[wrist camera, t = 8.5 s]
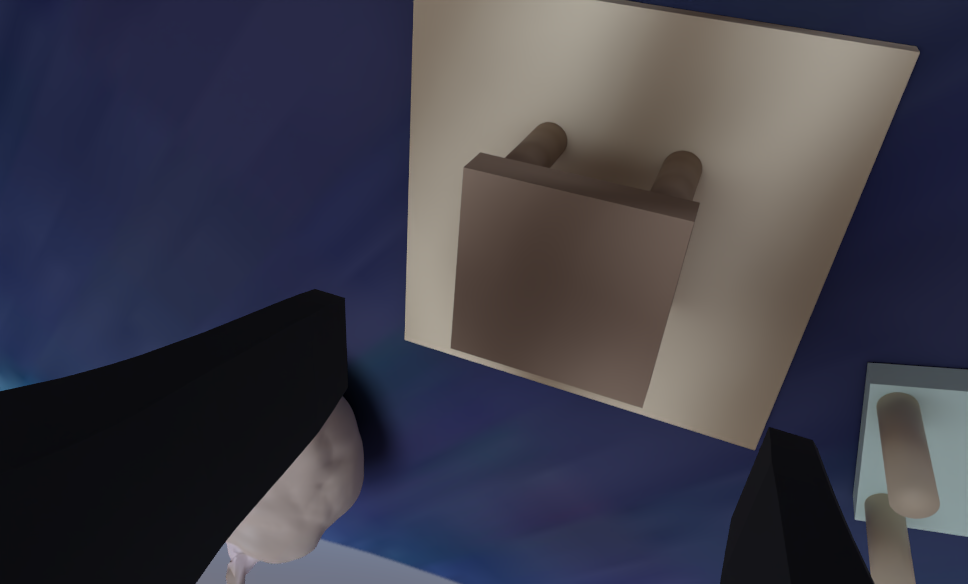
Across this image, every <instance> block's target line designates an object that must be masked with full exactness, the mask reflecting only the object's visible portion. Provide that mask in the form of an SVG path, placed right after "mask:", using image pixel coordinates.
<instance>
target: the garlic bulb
mask: <svg viewBox="0 0 968 584" xmlns="http://www.w3.org/2000/svg"><path fill="white" fill-rule="evenodd" d="M363 479H364V452H363V444H362V439H361V436H360V433H359V430H358V426H357V422H356V419H355V415H354V413H353V411H352V408H351V407H350V405H349V403H348V402H347V401H346V399H345V398H344V397H343V396H342V398H341V399H340V401H339V402H338V404H337V406H336V407H335V409H334V410H333V412H332V413H331V415H330V416H329V418H328V419H327V421H326V422H325V424H324V425H323V427H322V428H321V430H320V431H319V433H318V434H317V435H316V436H315V437H314V439H313V440H312V441H311V442H310V443H309V445H308V446H307V447H306V448H305V449H304V451H303V452H302V453H301V454H300V455H299V456H298V458H297V459H296V460H295V461H294V462H293V463H292V465H291V466H290V467H289V468H288V469H287V470H286V472H285V473H284V474H283V475H282V476H281V477H280V478H279V480H278V481H277V482H276V483H275V484H274V485H273V486H272V488H271V489H270V490H269V491H268V492H267V493H266V495H265V496H264V497H263V498H262V499H261V500H260V501H259V503H258V504H257V505H256V506H255V507H254V508H253V509H252V511H251V512H250V513H249V514H248V515H247V516H246V518H245V519H244V520H243V521H242V522H241V523H240V524H239V526H238V527H237V528H236V529H235V531H234V532H233V533H232V534H231V536H230V537H229V538H228V539H227V541H226V543H227V547H228V554H229V556H230V558H231V561H230V563H228V569H227V573H226V580H227V584H245V575H246V574H247V573H248V572H249V571H250V570H251V569H252V568H253V566H254V565H255V564H256V563H257V562H259V561H263V562H266V563H271V564H281V563H286V562H290V561H293V560H296V559H299V558H302V557H304V556H306V555H307V554H309V553H310V552H312V551H313V550H314V549H315V547H316V546H317V544H318V542H319V540H320V538H321V536H322V535H323V533H324V531H325V530H326V529H327V528H328V527H329V526H331V525H332V524H333V523H334V522H335V521H336V520H337V519H338V518H339V517H341V516H342V515H343V514H344V513H345V512H347V511H348V510H349V509H350V507H351V506H352V505H353V504H354V503H355V501H356V500H357V498H358V496H359V494H360V491H361V488H362V484H363Z"/></svg>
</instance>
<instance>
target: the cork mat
mask: <svg viewBox="0 0 968 584" xmlns="http://www.w3.org/2000/svg"><path fill="white" fill-rule="evenodd" d="M919 54H920V51H919V50H918V48H917V47H916V46H910V45H904V44H897V43H891V42H885V41H878V40H872V39H866V38H859V37H853V36H847V35H841V34H834V33H828V32H822V31H815V30H809V29H803V28H796V27H790V26H784V25H777V24H771V23H765V22H758V21H752V20H746V19H740V18H733V17H727V16H721V15H714V14H708V13H702V12H695V11H689V10H683V9H676V8H670V7H664V6H657V5H651V4H645V3H639V2H632V1H626V0H414V10H413V48H412V85H411V123H410V160H409V198H408V235H407V273H406V310H405V340H407V341H410V342H413V343H416V344H419V345H423V346H426V347H429V348H432V349H435V350H438V351H442V352H445V353H448V354H451V355H454V356H457V357H461V358H464V359H467V360H470V361H473V362H476V363H480V364H483V365H486V366H489V367H492V368H495V369H498V370H502V371H505V372H508V373H511V374H514V375H517V376H521V377H524V378H527V379H530V380H533V381H536V382H540V383H543V384H546V385H549V386H552V387H555V388H559V389H562V390H565V391H568V392H571V393H574V394H578V395H581V396H584V397H587V398H590V399H593V400H597V401H600V402H603V403H606V404H609V405H612V406H616V407H619V408H622V409H625V410H628V411H631V412H635V413H638V414H641V415H644V416H647V417H650V418H654V419H657V420H660V421H663V422H666V423H669V424H673V425H676V426H679V427H682V428H685V429H688V430H692V431H695V432H698V433H701V434H704V435H707V436H711V437H714V438H717V439H720V440H723V441H726V442H730V443H733V444H736V445H739V446H742V447H745V448H749V449H752V450H755V449H756V446H757V444H758V441H759V439H760V437H761V434H762V432H763V429H764V427H765V424H766V422H767V420H768V417H769V415H770V412H771V410H772V408H773V405H774V403H775V400H776V398H777V396H778V393H779V391H780V388H781V386H782V384H783V381H784V379H785V376H786V374H787V371H788V369H789V367H790V364H791V362H792V359H793V357H794V355H795V352H796V350H797V347H798V345H799V343H800V340H801V338H802V335H803V333H804V331H805V328H806V326H807V323H808V321H809V318H810V316H811V314H812V311H813V309H814V306H815V304H816V302H817V299H818V297H819V294H820V292H821V290H822V287H823V285H824V282H825V280H826V278H827V275H828V273H829V270H830V268H831V265H832V263H833V261H834V258H835V256H836V253H837V251H838V249H839V246H840V244H841V241H842V239H843V237H844V234H845V232H846V229H847V227H848V225H849V222H850V220H851V217H852V215H853V212H854V210H855V208H856V205H857V203H858V200H859V198H860V196H861V193H862V191H863V188H864V186H865V184H866V181H867V179H868V176H869V174H870V172H871V169H872V167H873V164H874V162H875V160H876V157H877V155H878V152H879V150H880V147H881V145H882V143H883V140H884V138H885V135H886V133H887V131H888V128H889V126H890V123H891V121H892V119H893V116H894V114H895V111H896V109H897V107H898V104H899V102H900V99H901V97H902V94H903V92H904V90H905V87H906V85H907V82H908V80H909V78H910V75H911V73H912V70H913V68H914V66H915V63H916V61H917V58H918V56H919ZM545 122H552V123H555V124H557V125H559V126H560V127H561V128H562V129H563V130H564V131H565V133H566V136H567V147H566V149H565V151H564V152H563V153H562V155H561V156H560V157H559V158H558V159H557V160H556V162H555V163H554V164H553V165H552V166H551V169H555V170H560V171H564V172H568V173H573V174H577V175H581V176H586V177H590V178H595V179H599V180H603V181H608V182H612V183H616V184H621V185H625V186H629V187H634V188H638V189H642V190H647V191H650V190H651V188H652V186H653V184H654V182H655V180H656V178H657V176H658V173H659V171H660V169H661V167H662V165H663V163H664V161H665V159H666V158H667V157H668V156H669V155H670V154H671V153H673V152H676V151H681V150H685V151H689V152H692V153H693V154H695V155H696V156H697V157H698V158H699V159H700V161H701V164H702V174H701V177H700V180H699V183H698V186H697V189H696V192H695V195H694V198H693V201H695V202H699V203H700V205H699V209H698V212H697V216H696V220H695V223H694V227H693V230H692V234H691V238H690V241H689V245H688V248H687V252H686V255H685V259H684V263H683V266H682V270H681V273H680V277H679V281H678V284H677V288H676V291H675V295H674V299H673V302H672V306H671V309H670V313H669V317H668V320H667V324H666V327H665V331H664V334H663V338H662V342H661V345H660V349H659V352H658V356H657V360H656V363H655V367H654V370H653V374H652V378H651V381H650V385H649V388H648V391H647V395H646V398H645V401H644V405H643V408H640V407H636V406H633V405H630V404H627V403H624V402H620V401H617V400H614V399H611V398H608V397H604V396H601V395H598V394H595V393H592V392H589V391H585V390H582V389H579V388H576V387H573V386H569V385H566V384H563V383H560V382H557V381H553V380H550V379H547V378H544V377H541V376H537V375H534V374H531V373H528V372H525V371H521V370H518V369H515V368H512V367H509V366H505V365H502V364H499V363H496V362H493V361H490V360H486V359H483V358H480V357H477V356H474V355H470V354H467V353H464V352H461V351H458V350H454V349H451V334H452V320H453V306H454V292H455V278H456V264H457V250H458V236H459V222H460V208H461V194H462V180H463V167H464V166H465V165H467V164H468V163H469V162H470V161H471V160H472V159H473V158H474V157H476V156H477V155H478V154H479V153H480V152H481V153H486V154H490V155H494V156H499V157H503V158H505V157H506V156H507V155H508V154H509V153H510V152H511V151H512V150H513V149H514V148H516V147H517V146H518V145H519V144H520V143H521V142H522V141H523V140H524V139H525V138H526V137H527V136H528V135H529V134H530V133H531V132H532V131H533V130H534V129H535V128H536V127H537V126H538V125H540V124H542V123H545Z"/></svg>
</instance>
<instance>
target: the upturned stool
mask: <svg viewBox="0 0 968 584" xmlns="http://www.w3.org/2000/svg"><path fill="white" fill-rule="evenodd" d="M853 504H854V517H855V520H860V521H866V528H867V539H868V550H869V561H870V571H871V577H872V579H873V581H874V583H875V584H916V583H915V576H914V570H913V564H912V557H911V551H910V544H909V538H908V531H907V528H913V529H920V530H927V531H933V532H940V533H947V534H953V535H960V536H966V537H968V370H966V369H952V368H938V367H924V366H910V365H896V364H882V363H868V365H867V374H866V383H865V392H864V401H863V410H862V419H861V428H860V437H859V445H858V454H857V463H856V472H855V481H854V490H853Z"/></svg>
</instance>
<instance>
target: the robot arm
mask: <svg viewBox="0 0 968 584" xmlns="http://www.w3.org/2000/svg"><path fill="white" fill-rule="evenodd" d="M347 388H348V371H347V345H346V319H345V298H343V297H340V296H336V295H333V294H330V293H326V292H323V291H320V290H317V289H314V290H311V291H308V292H305V293H302V294H299V295H296V296H294V297H291V298H288V299H286V300H283V301H281V302H278V303H276V304H273V305H271V306H268V307H266V308H263V309H261V310H258V311H256V312H253V313H251V314H249V315H246V316H244V317H241V318H239V319H236V320H234V321H231V322H229V323H226V324H224V325H221V326H219V327H216V328H214V329H211V330H209V331H206V332H204V333H201V334H198V335H195V336H193V337H190V338H187V339H184V340H182V341H179V342H176V343H173V344H170V345H168V346H165V347H162V348H159V349H156V350H154V351H151V352H148V353H145V354H143V355H140V356H136V357H133V358H130V359H127V360H124V361H121V362H117V363H114V364H111V365H107V366H104V367H100V368H97V369H93V370H89V371H86V372H82V373H79V374H75V375H71V376H67V377H63V378H59V379H55V380H50V381H46V382H41V383H36V384H32V385H27V386H23V387H18V388H14V389H9V390H4V391H0V584H196V582H197V581H198V579H199V578H200V577H201V575H202V574H203V572H204V571H205V569H206V568H207V566H208V565H209V564H210V562H211V561H212V559H213V558H214V557H215V555H216V554H217V552H218V551H219V549H220V548H221V547H222V546H223V544H224V543H225V542H226V541H227V539H228V538H229V537H230V536H231V534H232V533H233V532H234V531H235V529H236V528H237V527H238V526H239V524H240V523H241V522H242V521H243V520H244V519H245V518H246V516H247V515H248V514H249V513H250V512H251V511H252V509H253V508H254V507H255V506H256V505H257V504H258V503H259V501H260V500H261V499H262V498H263V497H264V496H265V495H266V493H267V492H268V491H269V490H270V489H271V488H272V486H273V485H274V484H275V483H276V482H277V481H278V480H279V478H280V477H281V476H282V475H283V474H284V473H285V472H286V470H287V469H288V468H289V467H290V466H291V465H292V463H293V462H294V461H295V460H296V459H297V458H298V456H299V455H300V454H301V453H302V452H303V451H304V449H305V448H306V447H307V446H308V445H309V443H310V442H311V441H312V440H313V439H314V437H315V436H316V435H317V434H318V433H319V431H320V430H321V428H322V427H323V425H324V424H325V422H326V421H327V419H328V418H329V416H330V415H331V413H332V412H333V410H334V409H335V407H336V406H337V404H338V402H339V401H340V399H341V398H342V396H343V394H344V393H345V391H346V390H347ZM720 584H875V583H874V581H873V579H872V577H871V575H870V573H869V571H868V569H867V567H866V564H865V562H864V560H863V558H862V556H861V554H860V552H859V549H858V547H857V545H856V543H855V541H854V539H853V537H852V534H851V532H850V530H849V527H848V525H847V523H846V521H845V518H844V516H843V513H842V511H841V509H840V506H839V504H838V501H837V499H836V496H835V494H834V491H833V489H832V486H831V484H830V481H829V479H828V476H827V473H826V471H825V468H824V465H823V462H822V460H821V457H820V454H819V451H818V448H817V447H816V445H815V444H814V442H813V440H810V439H807V438H803V437H800V436H797V435H794V434H790V433H787V432H784V431H780V430H777V429H774V428H771V427H769V428H768V431H767V433H766V436H765V438H764V441H763V443H762V445H761V448H760V450H759V453H758V455H757V458H756V460H755V462H754V465H753V467H752V470H751V472H750V475H749V477H748V479H747V482H746V484H745V487H744V489H743V492H742V494H741V496H740V499H739V501H738V504H737V506H736V509H735V511H734V513H733V516H732V518H731V524H730V529H729V535H728V540H727V546H726V551H725V557H724V563H723V569H722V575H721V582H720Z"/></svg>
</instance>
